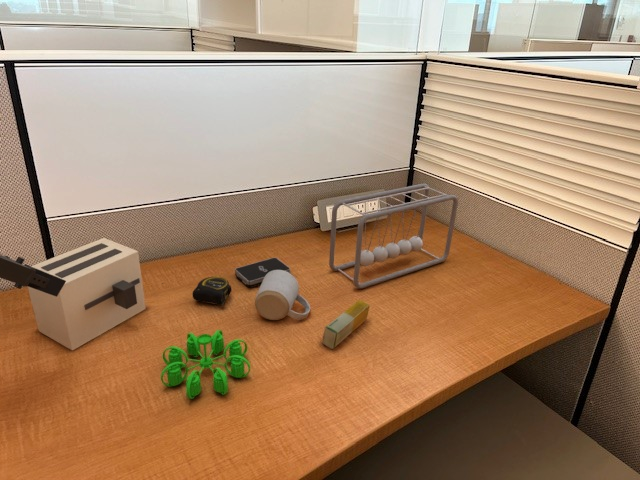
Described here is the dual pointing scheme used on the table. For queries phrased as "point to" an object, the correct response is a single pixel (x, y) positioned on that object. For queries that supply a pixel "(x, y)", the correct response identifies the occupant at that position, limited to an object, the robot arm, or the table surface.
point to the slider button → (124, 294)
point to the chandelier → (205, 363)
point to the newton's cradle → (391, 248)
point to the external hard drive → (259, 271)
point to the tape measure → (212, 290)
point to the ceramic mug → (279, 296)
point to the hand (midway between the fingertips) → (58, 287)
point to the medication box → (345, 324)
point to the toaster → (87, 292)
